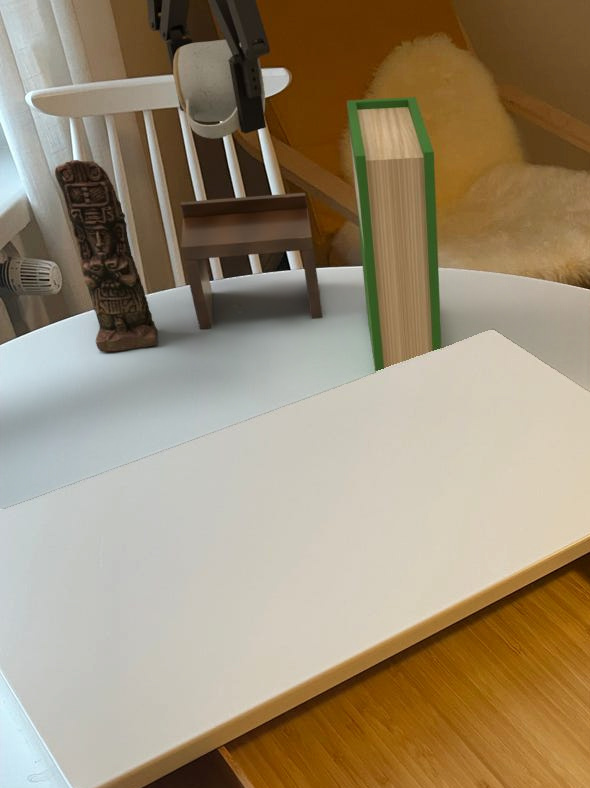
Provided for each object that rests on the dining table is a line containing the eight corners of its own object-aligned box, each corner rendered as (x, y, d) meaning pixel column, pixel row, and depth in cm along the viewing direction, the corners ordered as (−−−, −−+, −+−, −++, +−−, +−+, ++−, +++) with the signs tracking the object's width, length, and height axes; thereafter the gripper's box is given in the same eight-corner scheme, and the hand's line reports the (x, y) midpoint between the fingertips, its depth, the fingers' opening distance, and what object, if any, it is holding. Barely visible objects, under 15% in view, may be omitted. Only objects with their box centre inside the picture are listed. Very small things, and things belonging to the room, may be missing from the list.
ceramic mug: (196, 109, 106) (180, 30, 100) (269, 108, 106) (256, 29, 100) (175, 142, 98) (156, 58, 93) (253, 140, 98) (238, 57, 93)
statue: (98, 354, 110) (41, 175, 96) (100, 327, 115) (46, 152, 101) (158, 347, 112) (110, 169, 98) (157, 320, 117) (112, 147, 102)
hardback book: (442, 380, 106) (433, 151, 89) (377, 385, 105) (355, 156, 88) (426, 309, 118) (415, 97, 101) (367, 313, 117) (346, 100, 100)
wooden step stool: (199, 329, 115) (177, 234, 107) (201, 293, 122) (180, 201, 114) (322, 317, 117) (310, 223, 109) (317, 283, 124) (305, 192, 116)
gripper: (283, -139, 83) (316, 133, 99) (140, -157, 94) (190, 90, 110) (213, -131, 79) (259, 151, 95) (72, -150, 90) (134, 105, 106)
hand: (222, 118), depth 102 cm, fingers closed on ceramic mug, 10 cm apart
